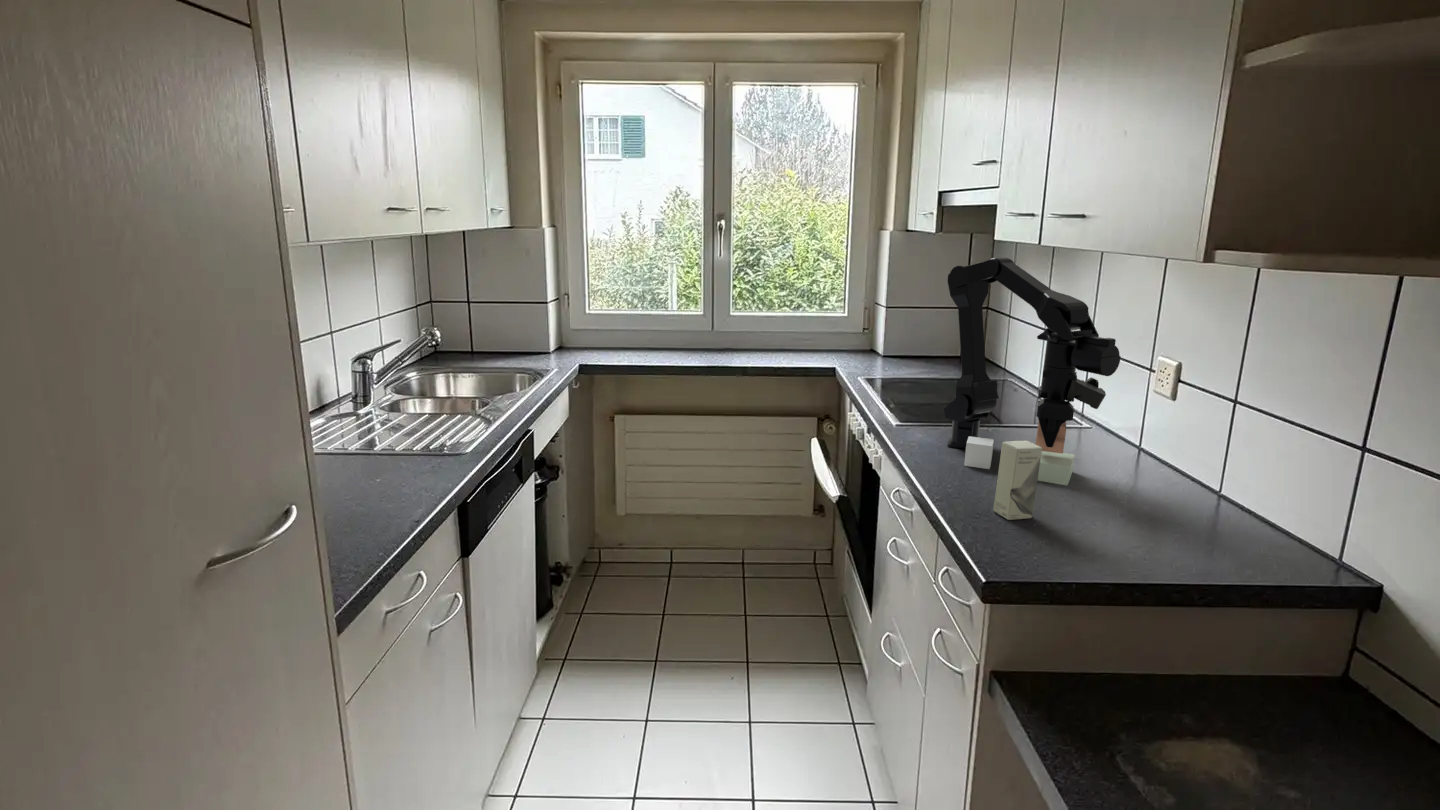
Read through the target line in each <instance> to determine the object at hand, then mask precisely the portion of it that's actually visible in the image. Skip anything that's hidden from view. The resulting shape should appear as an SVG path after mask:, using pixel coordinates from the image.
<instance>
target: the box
mask: <svg viewBox="0 0 1440 810" xmlns="http://www.w3.org/2000/svg"><path fill="white" fill-rule="evenodd" d="M1000 451H1001V452H1000V456H999V457H1000V459H999V465H998V472H997V473H998V474H997V481H996V488H995V495H994V500H993V501H994V502H993V509H992V510H993V512H995V513H996V514H997V515H1000V516H1001V517H1002V518H1005V519H1006V520H1008V521H1011V520H1013V521H1014V520H1023V519H1024V520H1025V519H1026V520H1027V519H1032V518H1033V514H1034V507H1035V502H1036V501H1035V500H1036V494H1037V493H1036V492H1037V487H1038V486H1037V485H1038V473H1039V467H1040V460H1041V453H1042V447H1040V446H1038V445H1036V443H1033V442H1032V441H1029V440H1012V441H1011V440H1010V441H1003V442H1002V444H1001V450H1000Z"/></svg>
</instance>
